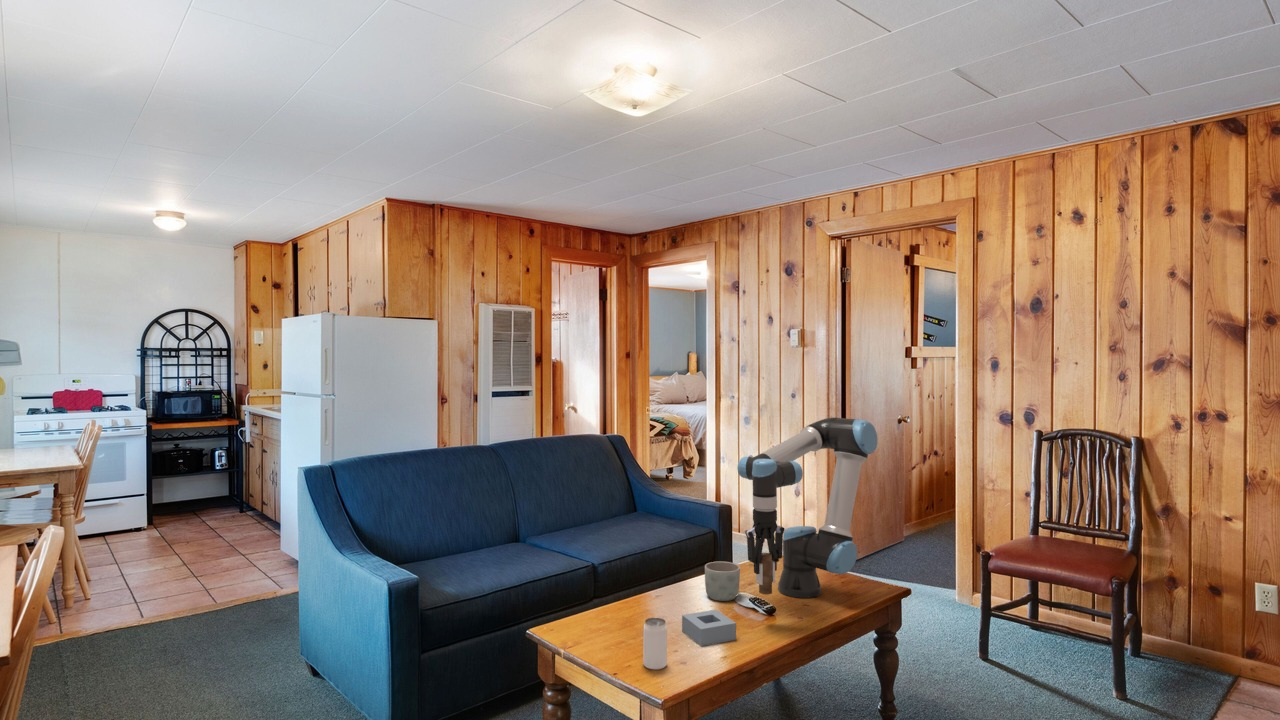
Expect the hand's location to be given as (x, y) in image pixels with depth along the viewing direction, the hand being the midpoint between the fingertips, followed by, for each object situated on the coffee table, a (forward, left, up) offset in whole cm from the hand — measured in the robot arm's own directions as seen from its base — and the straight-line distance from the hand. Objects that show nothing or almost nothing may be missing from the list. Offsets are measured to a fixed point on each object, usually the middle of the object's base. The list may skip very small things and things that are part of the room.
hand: (765, 582), depth 217 cm
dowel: (0, 0, -3) cm, 3 cm away
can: (+44, +12, -14) cm, 48 cm away
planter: (0, -27, -14) cm, 31 cm away
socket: (+21, 0, -14) cm, 25 cm away
